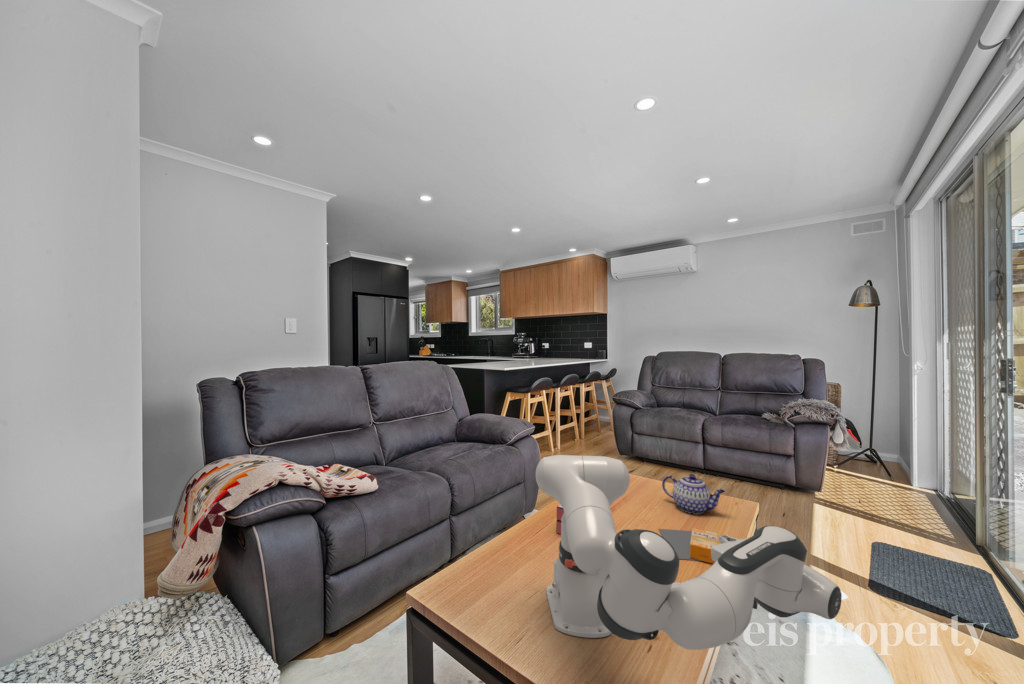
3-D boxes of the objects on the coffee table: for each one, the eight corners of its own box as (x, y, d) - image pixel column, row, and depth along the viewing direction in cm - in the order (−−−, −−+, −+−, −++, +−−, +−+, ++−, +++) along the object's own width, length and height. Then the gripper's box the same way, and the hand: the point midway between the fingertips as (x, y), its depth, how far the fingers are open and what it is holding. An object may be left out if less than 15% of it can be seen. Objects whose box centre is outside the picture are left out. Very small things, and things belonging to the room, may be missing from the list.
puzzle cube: (580, 542, 136) (580, 514, 136) (555, 533, 142) (556, 506, 142) (592, 531, 144) (593, 504, 144) (568, 523, 150) (569, 497, 150)
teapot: (655, 505, 168) (656, 471, 168) (669, 495, 179) (669, 463, 179) (718, 525, 150) (718, 487, 150) (729, 513, 161) (729, 477, 161)
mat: (719, 562, 124) (719, 561, 124) (674, 559, 126) (674, 558, 126) (697, 532, 144) (697, 531, 144) (658, 529, 146) (658, 528, 146)
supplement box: (689, 543, 126) (691, 526, 138) (689, 558, 126) (691, 540, 138) (718, 550, 122) (717, 532, 134) (717, 565, 122) (717, 546, 134)
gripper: (737, 584, 96) (694, 554, 109) (793, 569, 103) (746, 543, 116) (738, 558, 96) (694, 532, 109) (794, 545, 103) (747, 522, 116)
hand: (722, 537), depth 113 cm, fingers closed
